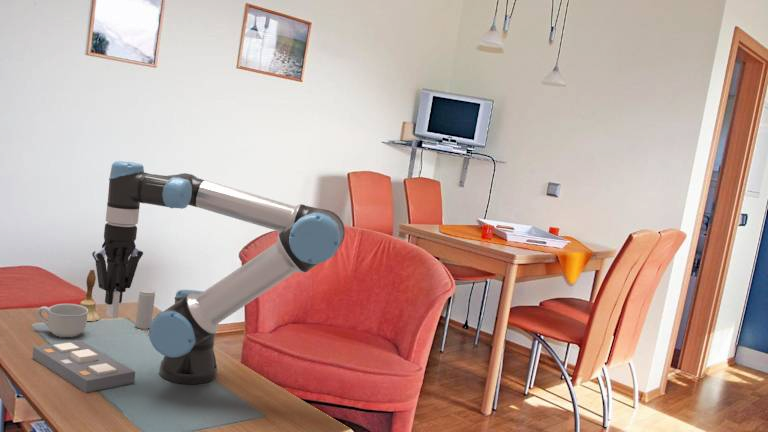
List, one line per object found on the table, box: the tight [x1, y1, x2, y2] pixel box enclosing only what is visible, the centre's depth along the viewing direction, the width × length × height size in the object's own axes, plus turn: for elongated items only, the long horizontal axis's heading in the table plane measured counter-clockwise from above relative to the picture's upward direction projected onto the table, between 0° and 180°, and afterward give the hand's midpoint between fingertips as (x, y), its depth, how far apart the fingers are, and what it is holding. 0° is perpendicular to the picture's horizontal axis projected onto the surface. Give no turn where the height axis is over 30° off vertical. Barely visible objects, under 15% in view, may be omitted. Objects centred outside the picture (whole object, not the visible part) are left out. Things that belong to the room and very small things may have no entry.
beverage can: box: [134, 288, 156, 330], centre depth 218 cm, size 5×5×12 cm
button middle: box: [70, 349, 98, 364], centre depth 176 cm, size 5×5×2 cm
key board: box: [32, 339, 136, 394], centre depth 176 cm, size 27×13×3 cm, turn 52°
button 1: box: [53, 341, 80, 353], centre depth 181 cm, size 5×5×2 cm
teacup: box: [36, 303, 88, 338], centre depth 200 cm, size 14×11×8 cm
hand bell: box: [79, 269, 101, 322], centre depth 218 cm, size 8×8×16 cm
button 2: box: [88, 363, 116, 375], centre depth 171 cm, size 5×5×2 cm
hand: (111, 316), depth 170 cm, fingers closed
